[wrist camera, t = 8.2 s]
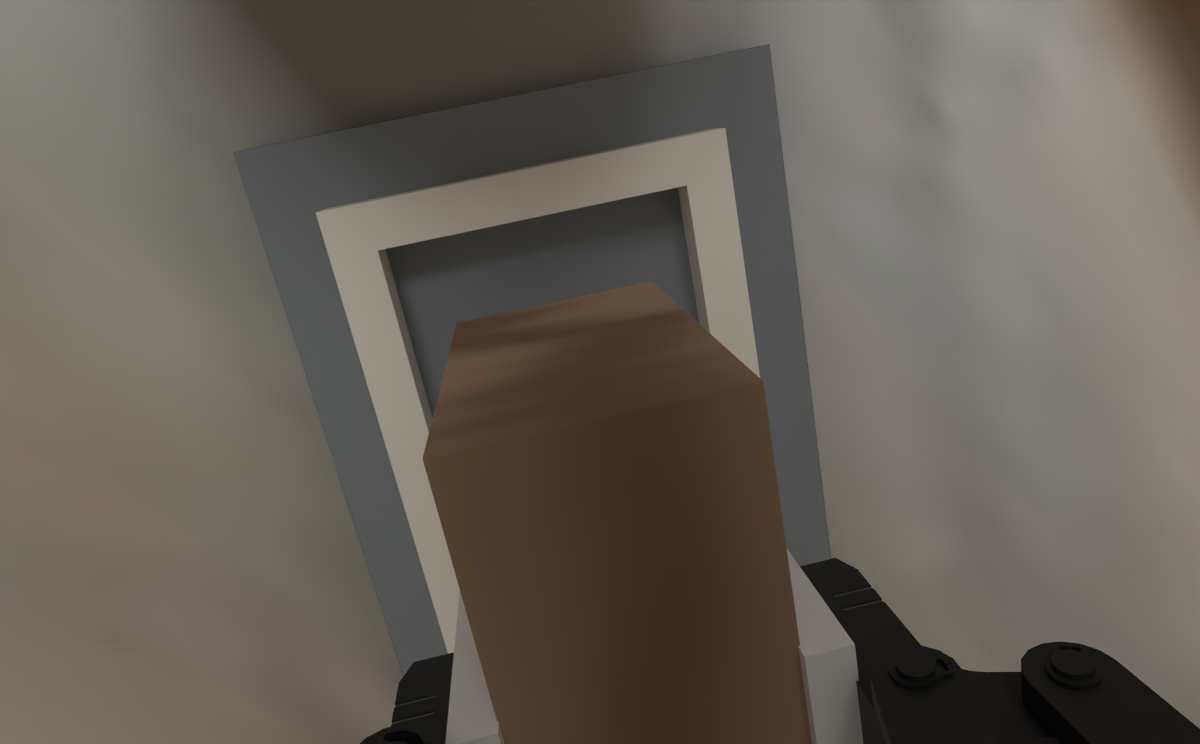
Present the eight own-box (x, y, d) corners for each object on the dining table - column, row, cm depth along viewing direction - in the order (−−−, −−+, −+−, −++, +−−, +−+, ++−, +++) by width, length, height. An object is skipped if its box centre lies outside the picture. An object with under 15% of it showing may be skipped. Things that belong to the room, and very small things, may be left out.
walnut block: (558, 719, 21) (590, 1050, 13) (456, 323, 18) (422, 458, 10) (721, 678, 21) (846, 980, 13) (651, 281, 18) (763, 381, 10)
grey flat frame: (243, 151, 21) (217, 152, 19) (759, 47, 21) (785, 38, 19) (437, 756, 26) (432, 804, 25) (834, 656, 27) (859, 695, 25)
